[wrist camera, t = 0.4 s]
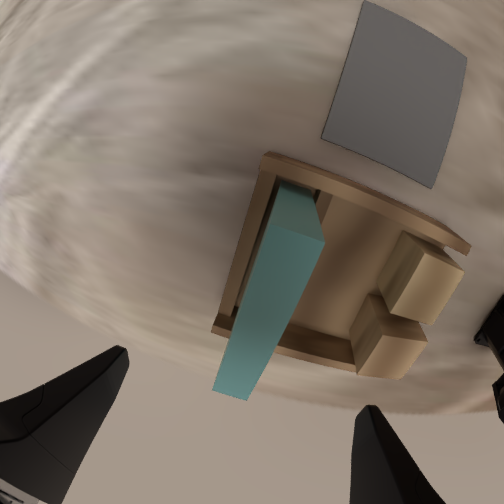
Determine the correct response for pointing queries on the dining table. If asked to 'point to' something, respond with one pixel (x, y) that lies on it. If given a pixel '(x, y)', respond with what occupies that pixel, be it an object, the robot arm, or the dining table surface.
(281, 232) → the teal flat slab
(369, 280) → the tray
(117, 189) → the dining table surface
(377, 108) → the mat
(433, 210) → the dining table surface
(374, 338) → the offcut
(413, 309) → the offcut
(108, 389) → the robot arm
